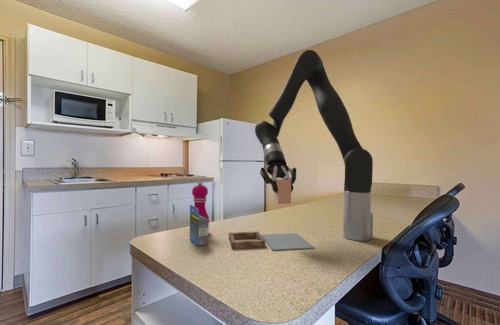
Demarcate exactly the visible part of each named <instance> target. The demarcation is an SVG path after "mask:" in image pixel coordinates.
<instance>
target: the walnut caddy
mask: <svg viewBox="0 0 500 325" xmlns="http://www.w3.org/2000/svg"><path fill="white" fill-rule="evenodd" d="M239 239H245V240H239ZM246 239H253V240H246ZM228 241H229V245H230V247H231V250H233V249H235V250H236V249H253V248H255V249H257V248H266V241H265V240H264V239H263V237H262V236H261V233H260V232H259V231H238V232H236V231H235V232H228Z"/></svg>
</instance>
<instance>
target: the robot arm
mask: <svg viewBox="0 0 500 325" xmlns="http://www.w3.org/2000/svg"><path fill="white" fill-rule="evenodd" d="M322 60H323V59H322V58H321V56H320V55H319V53H317V52H316V51H315V50H314V49H313V50H312V49H306V50H304V51H302V52H301V53H300V54H299V56H298V57H297V59H296V61H295V63H294V66H293V68H292V70H291V73H290V75H289V77H288V79H287V81H286V84H285V85H284V87H283V89H282V91H281V92H280V94H279V96H278V98H277V99H276V100H275V103H274V104H273V105H272V107H271V109H270V110H269V112H268V115H269V117H270V118H271V119H272V120H273V121H272V122H273V123H270V122H269V121H265V120H259V121H258V122H257V123H256V124H255V127H254V133H255V136H256V139H257V140H258V141H259V143H260V144H261V147H262V150H263V158H264V162H265V164H266V168H264V167H261V168H260V172H259V174H260V177H262V179H263V181H264V182H265V184H267V185H269V184H270V185H271V189H272V191H273V192H275V193H277V192H278V187H277V183H276V181H275V180H276V179H287V180H291V193H292V192H293V190H294V185H295V182H296V180H297V167H293V168H290V167H289V166H288V165H287V162H286V161H287V160H286V158H285V155H284V151H283V149H282V147H281V145H280V144H281V143H280V142H279V139H278V137H279V135H280V131H281V129H282V126H283V123H284V120H285V118H286V117H287V116H288V114H289V113H290V112H291V109H292V108H293V106H294V104H295V101H296V99H297V97H298V93H299V91H300V89H301V87H302V86H303V84H304V83H305V81H306V82H307V83H308V86H310V89H311V90H312V92H313V95H314V99H315V103H316V106H317V110H318V113H319V114H320V116H321V119H322V121H323V123H324V124H325V126H326V128H327V130H328V132H329V133H330V134H331V136H332V138H333V139H334V141H335V142H336V144H337V147H338V149H339V151H340V154H341V157H342V159H343V163H344V180H343V181H344V183H343V229H342V230H343V233H342V234H343V237H344V238H346V239H347V240H348V239H349V240H352V241H357V242H360V241H361V242H366V241H370V240H373V239H374V238H373V237H374V236H373V235H374V234H373V232H374V213H373V212H372V208H371V205H372V204H371V202H372V201H371V200H372V198H371V197H372V185H373V168H374V167H373V165H374V164H373V163H374V161H373V157H372V154H371V152H370V151H368V150H367V149H365V148H363V146H362V145H361V143H360V142H359V140H358V139H357V137H356V134H355V131H354V128H353V124H352V121H351V118H350V114H349V113H348V110H347V108H346V106H345V104H344V101H343V100H342V99H341V97H340V95H339V94H338V92H337V90H336V89H335V88H334V86H333V85H332V83H331V82H330V79H329V78H328V75H327V72H326V70H325V69H326V68H325V66H324V64H323V61H322ZM269 175H270V176H271V177H270V176H269ZM290 176H291V177H290ZM293 184H294V185H293Z"/></svg>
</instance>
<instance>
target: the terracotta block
mask: <svg viewBox="0 0 500 325" xmlns="http://www.w3.org/2000/svg"><path fill="white" fill-rule="evenodd" d="M275 181H276V183H277V187H278V192H277V193H275V192H274V191H273V192H274V193H273V195H274V203H276V204H277V205H288V204H289V205H290V204H292V192H291V180H287V179H282V178H276V180H275Z"/></svg>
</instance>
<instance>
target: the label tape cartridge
mask: <svg viewBox="0 0 500 325" xmlns="http://www.w3.org/2000/svg"><path fill="white" fill-rule="evenodd" d="M194 210H195V211H196V212H194ZM209 224H210V219H209V220H208V219H206V218H204V217H202V216H200V215H199V211H198V208H196V207H194V205H192V204H189V240H190V241H192V242H193V243H194V244H195V245H196V246H197V247H201V246H207V245H209V226H210V225H209Z"/></svg>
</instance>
